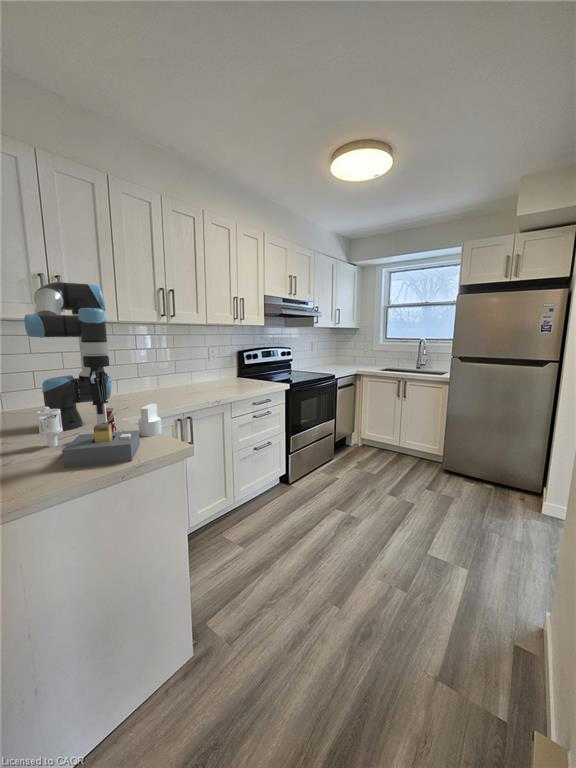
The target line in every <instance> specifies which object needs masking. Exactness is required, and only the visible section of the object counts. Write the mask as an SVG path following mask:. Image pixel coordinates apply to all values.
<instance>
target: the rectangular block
mask: <svg viewBox="0 0 576 768" xmlns="http://www.w3.org/2000/svg"><path fill="white" fill-rule="evenodd" d="M93 434H94V437H95V443H99V442H111V441H113V439H112V428H111V423H108V424H98V423H97V424H95V426H93Z"/></svg>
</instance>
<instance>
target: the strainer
mask: <svg viewBox="0 0 576 768" xmlns="http://www.w3.org/2000/svg"><path fill="white" fill-rule="evenodd" d="M49 412H50V413H49ZM56 414H58V415H57V416H56V417H54V416H52V417H51V415H56ZM36 416H37V423H38V430H39V435H41V436H46V439H47V446H48V448H54V447H57V445H58V446H59V444H58V442H59V441H58V434H59V433H62V432H63V429H62V421H61V412H60V409H50V408H49V407H45V406H44V407H43V409H42V410H39V411H36ZM47 417H50V418H47ZM44 419H46V420H44ZM43 421H44V422H43Z"/></svg>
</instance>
